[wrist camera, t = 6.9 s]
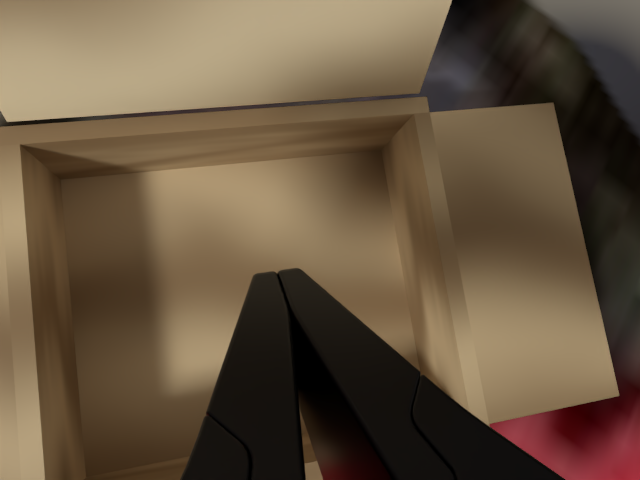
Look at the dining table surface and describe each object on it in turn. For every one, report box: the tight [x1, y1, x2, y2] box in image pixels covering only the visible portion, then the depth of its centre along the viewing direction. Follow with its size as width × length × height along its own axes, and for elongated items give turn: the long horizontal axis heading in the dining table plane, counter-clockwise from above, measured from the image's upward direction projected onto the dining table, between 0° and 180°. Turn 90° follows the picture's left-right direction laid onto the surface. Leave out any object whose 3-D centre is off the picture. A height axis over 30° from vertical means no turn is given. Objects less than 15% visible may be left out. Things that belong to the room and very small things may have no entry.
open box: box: [0, 97, 619, 480], centre depth 18 cm, size 12×24×4 cm, turn 98°
